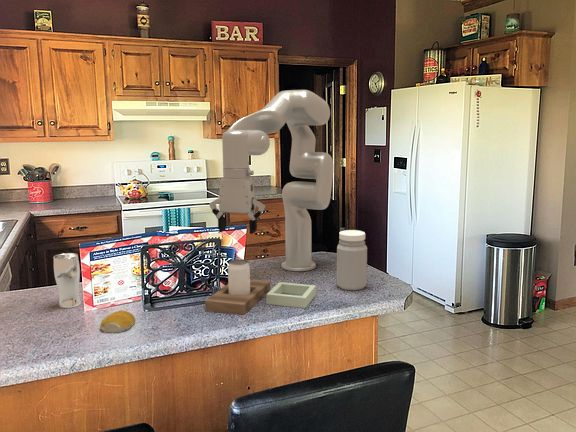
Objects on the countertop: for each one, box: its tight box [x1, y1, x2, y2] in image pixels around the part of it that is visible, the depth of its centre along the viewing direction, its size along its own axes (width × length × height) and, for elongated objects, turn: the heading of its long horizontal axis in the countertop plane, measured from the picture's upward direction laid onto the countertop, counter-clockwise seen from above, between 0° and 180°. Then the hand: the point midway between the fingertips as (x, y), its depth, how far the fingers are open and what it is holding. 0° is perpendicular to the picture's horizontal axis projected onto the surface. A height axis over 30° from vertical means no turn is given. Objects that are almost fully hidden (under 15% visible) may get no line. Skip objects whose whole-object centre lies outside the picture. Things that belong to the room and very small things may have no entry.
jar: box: [336, 229, 368, 291], centre depth 166 cm, size 10×10×18 cm
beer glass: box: [52, 252, 82, 309], centre depth 152 cm, size 7×7×15 cm
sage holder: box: [265, 281, 317, 309], centre depth 156 cm, size 12×12×3 cm
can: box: [227, 258, 251, 296], centre depth 155 cm, size 6×6×12 cm
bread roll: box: [99, 310, 136, 334], centre depth 137 cm, size 8×9×4 cm
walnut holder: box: [204, 279, 272, 316], centre depth 156 cm, size 22×12×3 cm, turn 162°
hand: (237, 232), depth 152 cm, fingers open, 9 cm apart
